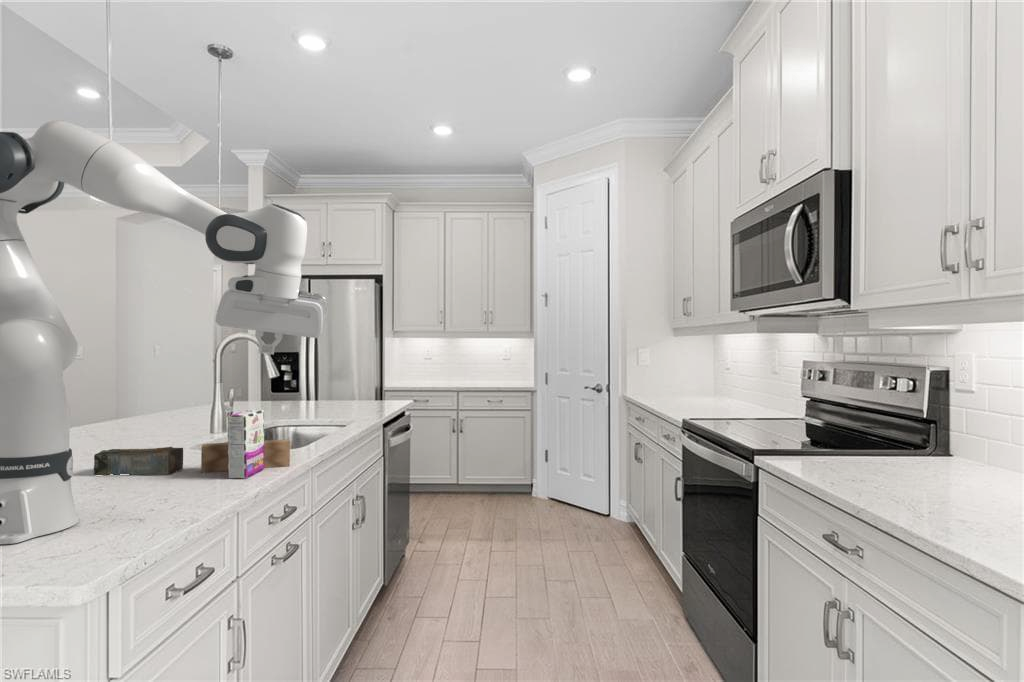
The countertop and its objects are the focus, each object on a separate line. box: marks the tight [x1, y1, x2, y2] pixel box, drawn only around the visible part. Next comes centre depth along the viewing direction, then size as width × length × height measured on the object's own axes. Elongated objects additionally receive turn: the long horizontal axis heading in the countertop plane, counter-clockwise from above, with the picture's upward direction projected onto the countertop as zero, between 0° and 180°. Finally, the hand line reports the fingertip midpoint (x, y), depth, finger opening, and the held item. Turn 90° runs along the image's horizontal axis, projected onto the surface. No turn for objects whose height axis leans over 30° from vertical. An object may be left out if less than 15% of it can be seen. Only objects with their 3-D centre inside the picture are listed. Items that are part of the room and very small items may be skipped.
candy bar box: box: [227, 409, 265, 480], centre depth 153 cm, size 11×5×16 cm, turn 179°
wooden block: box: [200, 438, 291, 473], centre depth 160 cm, size 22×4×7 cm, turn 114°
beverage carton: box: [93, 446, 184, 476], centre depth 154 cm, size 8×19×7 cm, turn 95°
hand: (266, 353), depth 119 cm, fingers closed
